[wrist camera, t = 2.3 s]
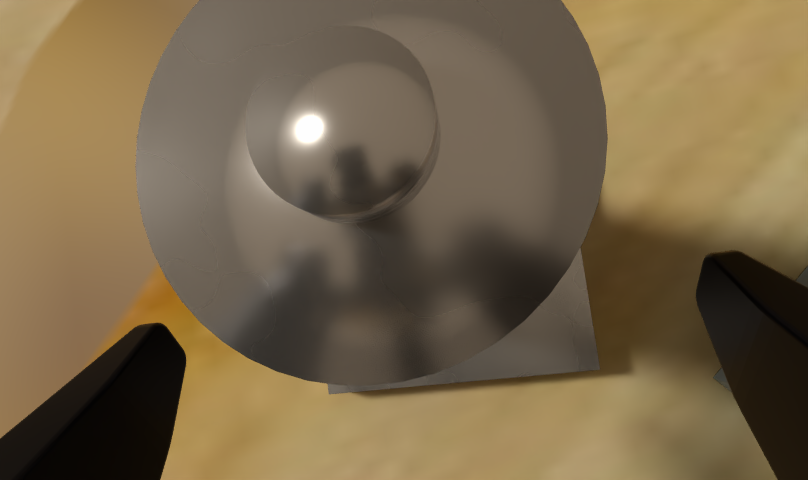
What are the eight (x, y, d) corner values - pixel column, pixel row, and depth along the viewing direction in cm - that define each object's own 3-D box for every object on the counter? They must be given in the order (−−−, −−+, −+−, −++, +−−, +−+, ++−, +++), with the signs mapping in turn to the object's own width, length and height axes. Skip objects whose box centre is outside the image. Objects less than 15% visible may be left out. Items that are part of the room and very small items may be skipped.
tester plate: (593, 365, 17) (600, 369, 16) (336, 388, 18) (328, 394, 17) (552, 112, 18) (557, 101, 17) (315, 150, 19) (306, 143, 18)
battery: (451, 353, 16) (364, 527, 4) (342, 257, 17) (2, 163, 5) (548, 238, 16) (755, 61, 4) (433, 148, 17) (315, -219, 5)
